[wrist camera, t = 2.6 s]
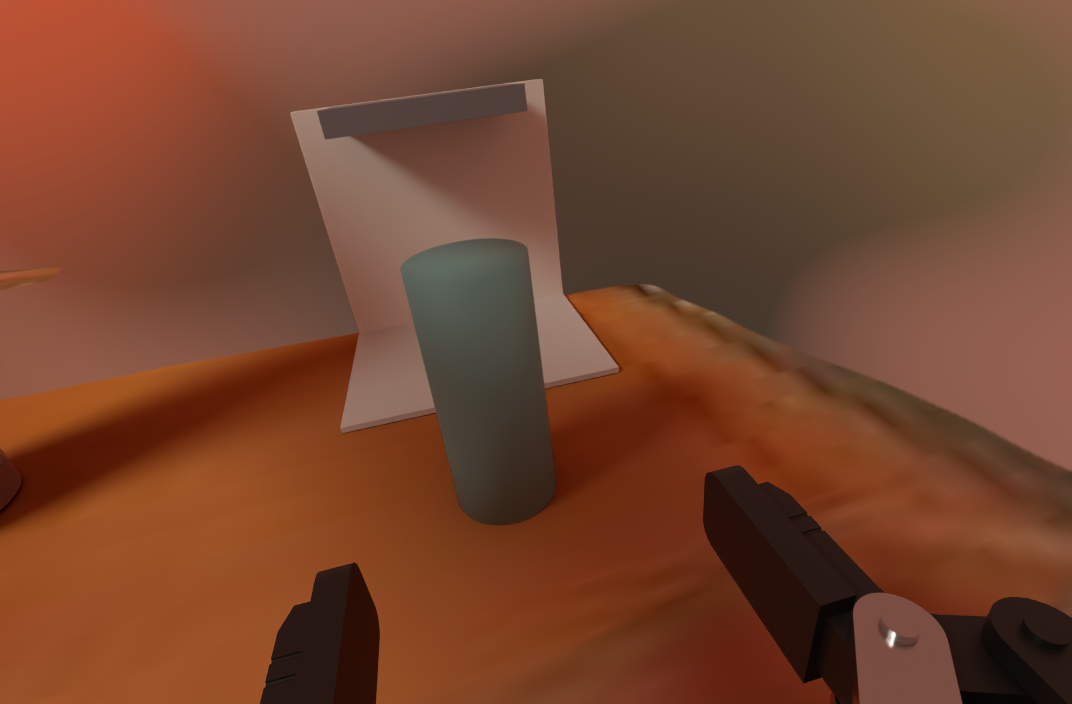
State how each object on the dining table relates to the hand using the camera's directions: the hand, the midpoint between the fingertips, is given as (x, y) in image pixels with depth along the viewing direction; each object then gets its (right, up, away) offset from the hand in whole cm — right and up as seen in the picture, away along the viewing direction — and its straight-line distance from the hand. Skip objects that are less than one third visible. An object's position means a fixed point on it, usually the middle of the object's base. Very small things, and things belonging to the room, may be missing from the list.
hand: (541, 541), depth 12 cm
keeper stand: (-5, +5, +28) cm, 29 cm away
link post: (-2, -2, +14) cm, 15 cm away
